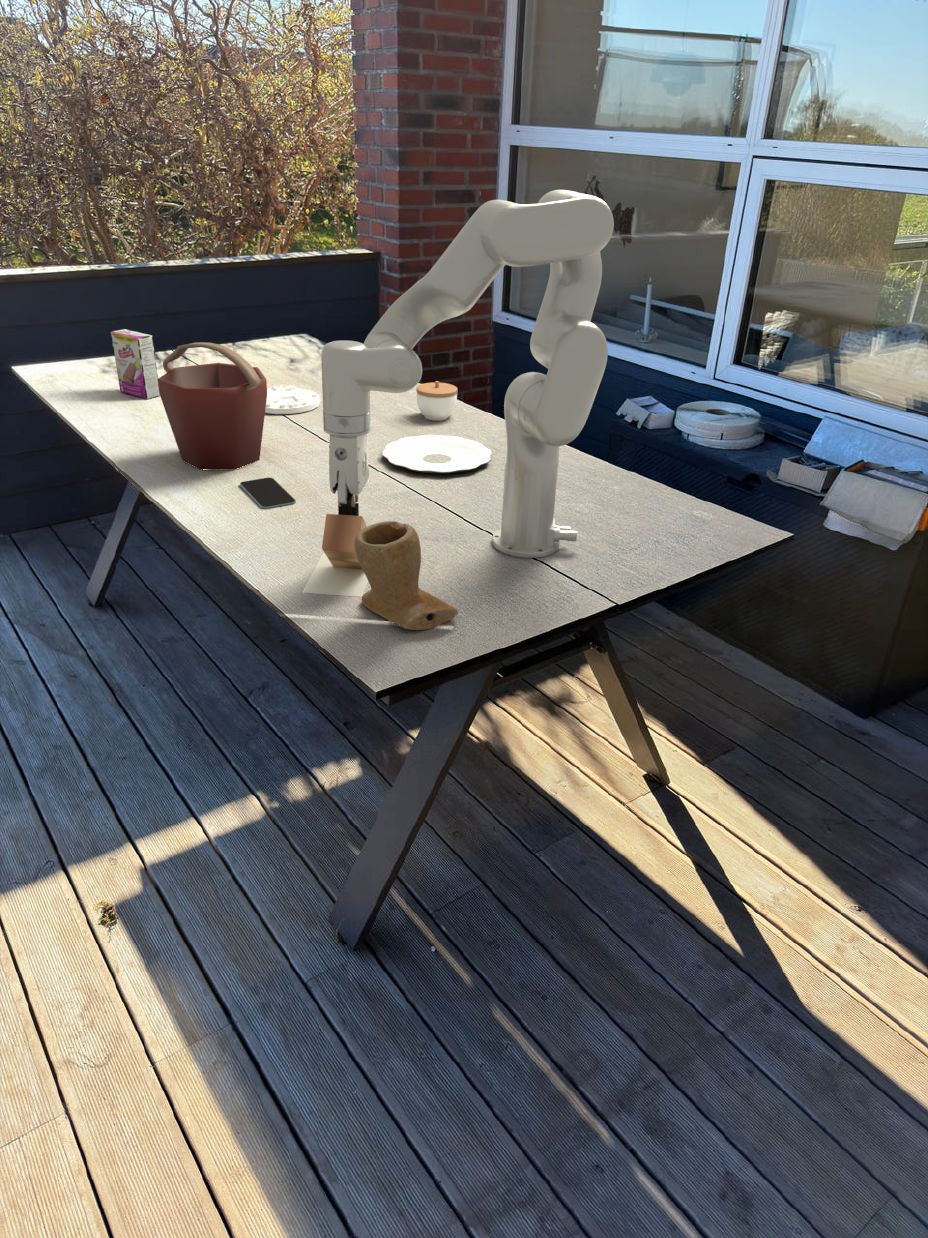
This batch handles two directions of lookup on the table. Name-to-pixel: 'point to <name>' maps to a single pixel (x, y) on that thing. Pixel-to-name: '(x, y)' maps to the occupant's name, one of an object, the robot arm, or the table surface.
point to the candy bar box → (135, 363)
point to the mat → (336, 580)
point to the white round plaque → (290, 400)
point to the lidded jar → (436, 400)
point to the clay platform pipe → (397, 577)
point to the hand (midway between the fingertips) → (348, 525)
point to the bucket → (215, 409)
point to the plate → (457, 448)
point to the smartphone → (267, 493)
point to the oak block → (342, 539)
